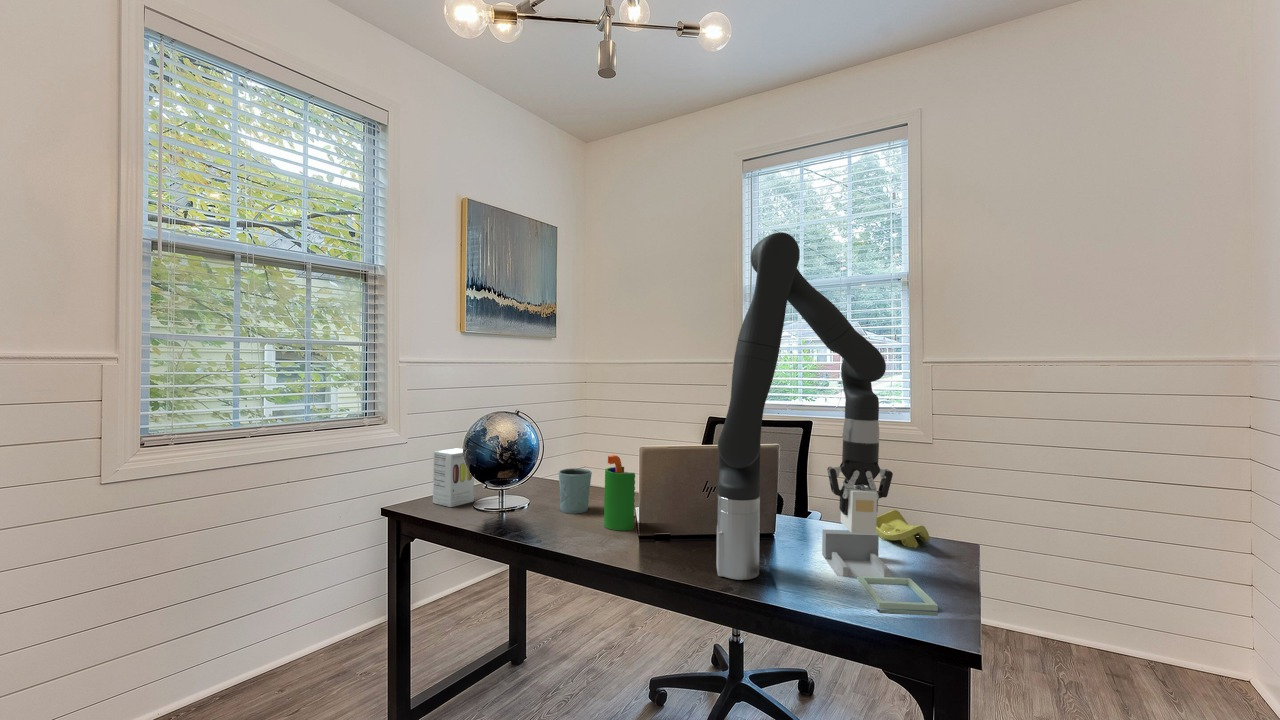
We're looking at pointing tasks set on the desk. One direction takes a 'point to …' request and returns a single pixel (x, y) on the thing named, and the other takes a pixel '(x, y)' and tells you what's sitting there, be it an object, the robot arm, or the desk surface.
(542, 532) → the desk surface
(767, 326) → the robot arm
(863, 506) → the labeled white box
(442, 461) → the supplement box
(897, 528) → the plastic component
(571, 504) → the pale teal cup
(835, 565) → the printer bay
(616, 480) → the motor
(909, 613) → the tray
